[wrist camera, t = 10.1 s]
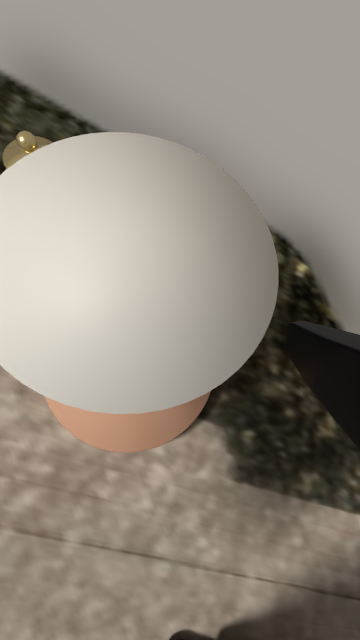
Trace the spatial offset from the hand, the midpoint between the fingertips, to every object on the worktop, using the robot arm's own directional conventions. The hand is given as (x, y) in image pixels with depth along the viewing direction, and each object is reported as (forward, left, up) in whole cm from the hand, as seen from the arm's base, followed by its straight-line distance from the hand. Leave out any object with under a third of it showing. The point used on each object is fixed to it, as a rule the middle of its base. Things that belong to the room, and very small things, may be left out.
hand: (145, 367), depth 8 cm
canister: (+2, +1, -9) cm, 9 cm away
